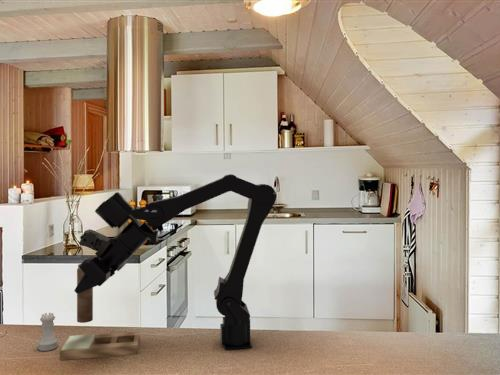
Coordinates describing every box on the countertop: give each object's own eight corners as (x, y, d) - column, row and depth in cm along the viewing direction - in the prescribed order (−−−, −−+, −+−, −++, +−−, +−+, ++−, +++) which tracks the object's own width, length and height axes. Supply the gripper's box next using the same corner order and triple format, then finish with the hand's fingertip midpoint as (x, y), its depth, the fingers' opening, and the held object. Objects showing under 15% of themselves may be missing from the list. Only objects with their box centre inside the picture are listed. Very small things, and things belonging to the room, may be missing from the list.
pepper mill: (93, 317, 101) (93, 258, 100) (91, 322, 97) (91, 261, 97) (78, 318, 100) (78, 259, 100) (75, 323, 97) (75, 261, 96)
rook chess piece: (50, 352, 98) (49, 317, 98) (33, 351, 99) (32, 316, 99) (62, 345, 102) (61, 312, 102) (45, 343, 103) (45, 310, 103)
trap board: (139, 339, 105) (139, 330, 105) (137, 353, 97) (137, 344, 97) (69, 344, 102) (69, 335, 102) (59, 360, 93) (59, 350, 93)
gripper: (113, 214, 108) (68, 258, 107) (89, 221, 89) (35, 274, 89) (144, 245, 108) (100, 289, 108) (127, 259, 90) (73, 311, 89)
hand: (78, 290), depth 98 cm, fingers closed on pepper mill, 3 cm apart
